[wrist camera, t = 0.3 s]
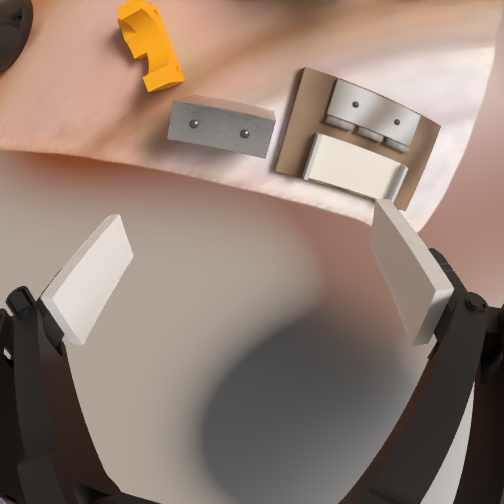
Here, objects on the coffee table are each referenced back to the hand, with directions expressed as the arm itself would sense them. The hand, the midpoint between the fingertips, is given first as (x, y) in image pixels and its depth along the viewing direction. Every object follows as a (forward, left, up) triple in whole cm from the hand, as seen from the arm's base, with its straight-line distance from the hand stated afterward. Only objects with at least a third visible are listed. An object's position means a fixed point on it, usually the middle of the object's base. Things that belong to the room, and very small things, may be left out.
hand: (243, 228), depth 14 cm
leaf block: (-4, -1, -24) cm, 25 cm away
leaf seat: (+12, +7, -23) cm, 27 cm away
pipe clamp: (-18, -1, -25) cm, 30 cm away
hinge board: (+10, +10, -24) cm, 28 cm away
